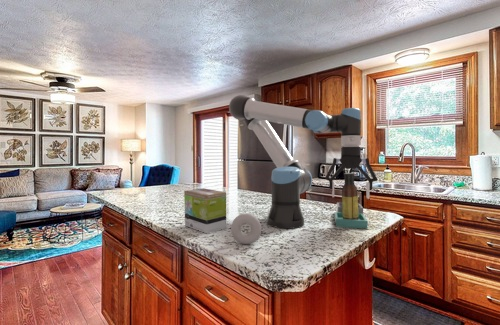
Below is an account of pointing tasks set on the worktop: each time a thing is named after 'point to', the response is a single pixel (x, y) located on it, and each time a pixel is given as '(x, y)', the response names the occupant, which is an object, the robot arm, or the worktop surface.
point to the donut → (242, 236)
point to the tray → (350, 221)
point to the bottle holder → (339, 208)
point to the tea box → (205, 210)
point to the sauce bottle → (349, 198)
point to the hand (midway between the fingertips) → (350, 197)
